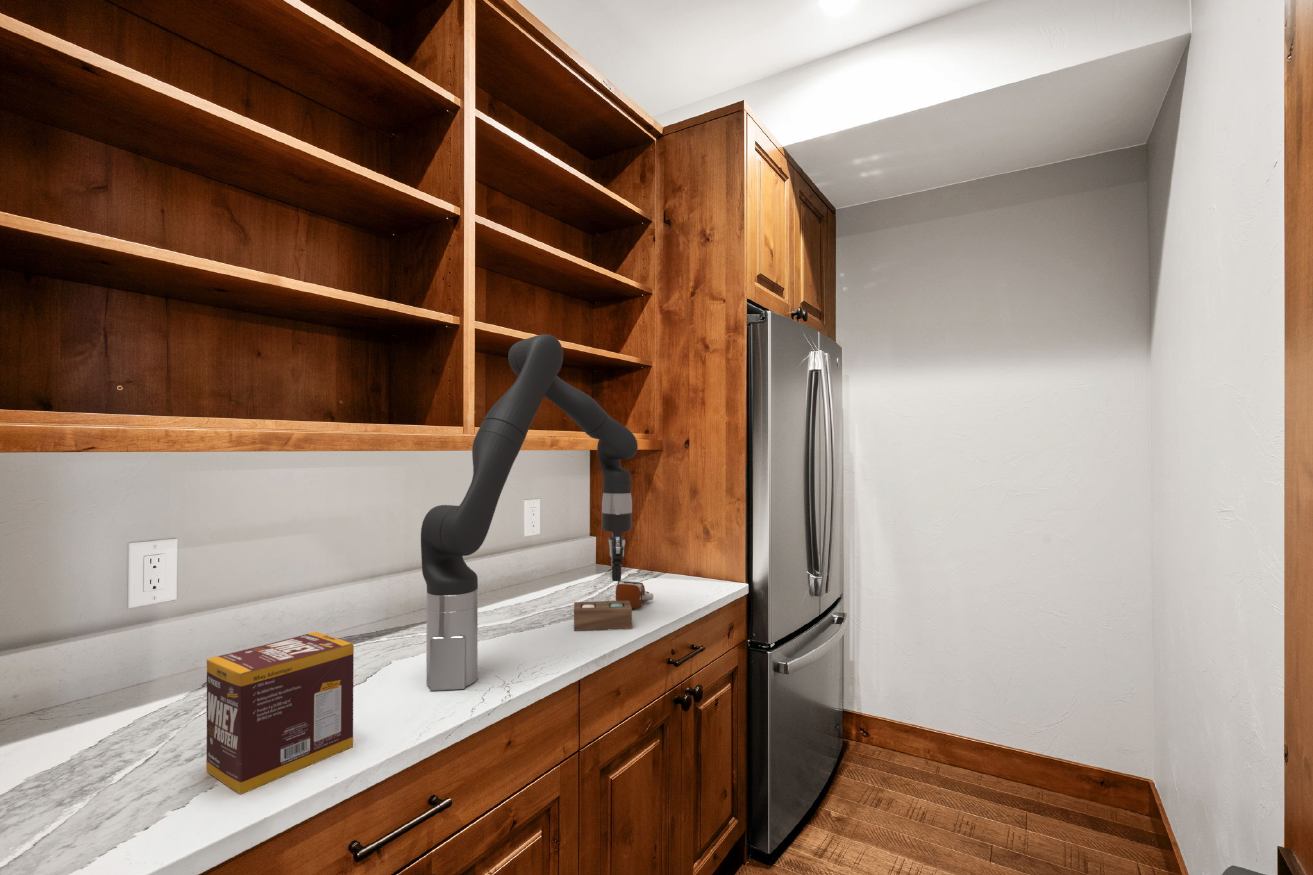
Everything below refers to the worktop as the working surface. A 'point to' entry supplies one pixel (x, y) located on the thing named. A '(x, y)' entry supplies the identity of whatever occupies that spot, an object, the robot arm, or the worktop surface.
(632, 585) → the toy
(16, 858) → the worktop surface
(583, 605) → the peg cream
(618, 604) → the peg teal
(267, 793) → the worktop surface
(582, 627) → the socket block
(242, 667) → the supplement box
